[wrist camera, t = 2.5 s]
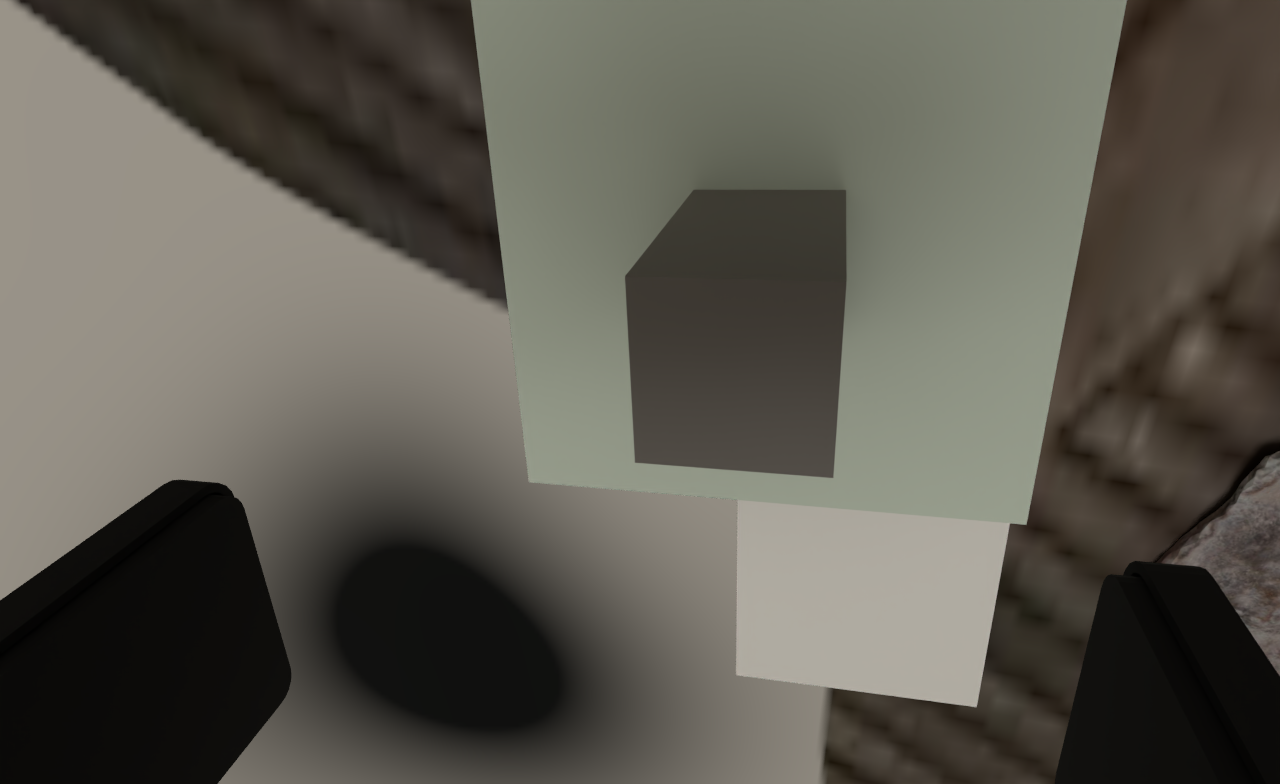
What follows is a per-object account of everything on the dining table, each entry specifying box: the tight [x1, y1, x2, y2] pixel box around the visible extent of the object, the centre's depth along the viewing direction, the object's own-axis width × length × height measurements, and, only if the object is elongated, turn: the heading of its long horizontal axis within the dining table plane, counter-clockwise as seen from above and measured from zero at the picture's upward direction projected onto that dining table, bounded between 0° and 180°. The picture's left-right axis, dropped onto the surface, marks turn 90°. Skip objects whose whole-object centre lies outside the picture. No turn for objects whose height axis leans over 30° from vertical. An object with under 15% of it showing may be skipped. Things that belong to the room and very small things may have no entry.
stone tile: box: [736, 500, 1010, 707], centre depth 33 cm, size 10×10×1 cm
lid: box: [471, 0, 1127, 525], centre depth 17 cm, size 14×14×8 cm
